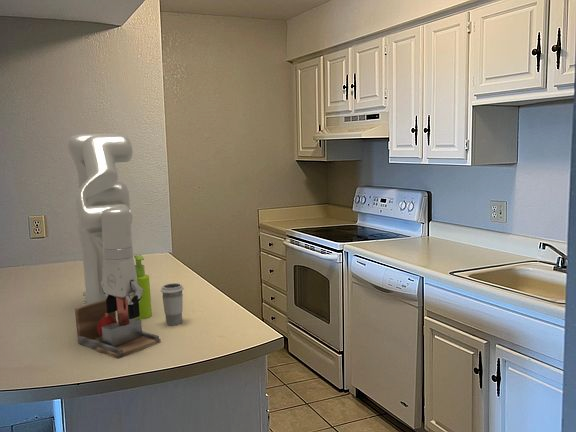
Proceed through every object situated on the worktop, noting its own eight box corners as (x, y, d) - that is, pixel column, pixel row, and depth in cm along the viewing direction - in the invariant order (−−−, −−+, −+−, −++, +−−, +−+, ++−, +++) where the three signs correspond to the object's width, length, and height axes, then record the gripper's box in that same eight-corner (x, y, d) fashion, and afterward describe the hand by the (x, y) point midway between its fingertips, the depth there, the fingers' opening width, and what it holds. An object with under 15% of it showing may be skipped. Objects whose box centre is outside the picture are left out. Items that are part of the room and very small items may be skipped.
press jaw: (101, 344, 153) (97, 290, 151) (131, 333, 161) (127, 282, 159) (113, 348, 150) (108, 293, 148) (143, 336, 158) (139, 285, 156)
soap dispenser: (136, 321, 176) (131, 258, 173) (131, 315, 182) (126, 255, 179) (154, 318, 179) (150, 256, 176) (149, 312, 185) (145, 252, 182)
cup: (174, 328, 168) (171, 289, 166) (158, 325, 171) (155, 287, 170) (190, 321, 174) (188, 283, 172) (174, 318, 177) (172, 281, 176)
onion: (100, 337, 163) (98, 310, 162) (121, 335, 163) (119, 309, 162) (95, 344, 157) (93, 316, 156) (116, 343, 157) (114, 315, 156)
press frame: (74, 343, 158) (71, 309, 157) (116, 329, 169) (114, 296, 168) (118, 358, 146) (115, 321, 144) (160, 342, 157) (158, 307, 155)
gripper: (87, 253, 154) (92, 313, 156) (126, 259, 143) (131, 324, 146) (111, 248, 160) (115, 306, 162) (150, 254, 149) (154, 316, 152)
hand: (123, 314), depth 154 cm, fingers open, 9 cm apart
